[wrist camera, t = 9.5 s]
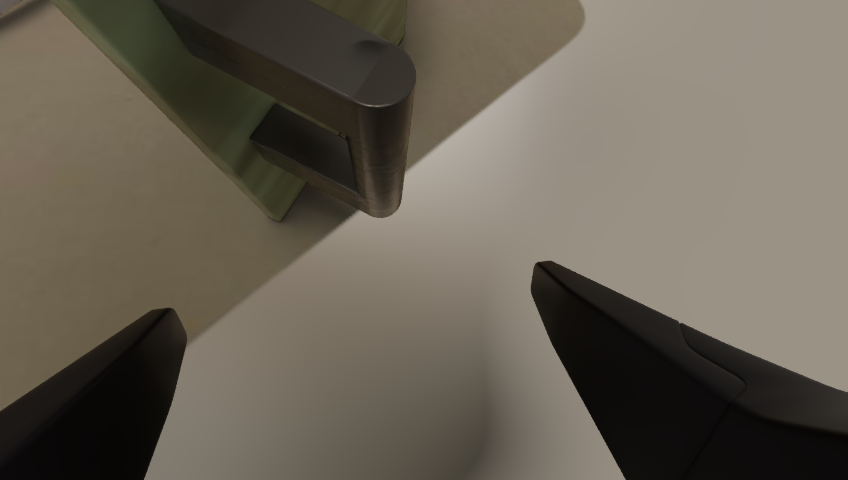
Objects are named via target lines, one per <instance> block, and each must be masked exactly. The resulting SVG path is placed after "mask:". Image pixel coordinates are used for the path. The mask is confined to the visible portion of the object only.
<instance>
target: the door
mask: <svg viewBox="0 0 848 480" xmlns="http://www.w3.org/2000/svg"><path fill="white" fill-rule="evenodd" d="M50 1H51V2H52V3H53V4H54V5H55V6H56V7H57V8H58V9H59V10H60V11H61V12H62V13H63V14H64V15H65V16H66V17H67V18H68V19H69V20H70V21H71V22H72V23H73V24H74V25H75V26H76V27H77V28H78V29H79V30H80V31H81V32H82V33H83V34H84V35H85V36H86V37H87V38H88V39H89V40H90V41H91V42H92V43H93V44H94V45H95V46H96V47H97V48H98V49H99V50H100V51H101V52H102V53H103V54H104V55H105V56H106V57H108V58H109V59H110V60H111V61H112V62H113V63H114V64H115V65H116V66H117V67H118V68H119V69H120V70H121V71H122V72H123V73H124V74H125V75H126V76H127V77H128V78H129V79H130V80H131V81H132V82H133V83H134V84H135V85H136V86H137V87H138V88H139V89H140V90H141V91H142V92H143V93H144V94H145V95H146V96H147V97H148V98H149V99H150V100H151V101H152V102H153V103H154V104H155V105H156V106H157V107H158V108H159V109H160V110H161V111H162V112H163V113H164V114H165V115H166V116H167V117H168V118H169V119H170V120H171V121H172V122H173V123H174V124H175V125H176V126H177V127H178V128H179V129H180V130H181V131H182V132H183V133H184V134H185V135H186V136H187V137H188V138H189V139H190V140H191V141H192V142H193V143H194V144H195V145H196V146H197V147H198V148H199V149H200V150H201V151H202V152H203V153H204V154H205V155H206V156H207V157H208V158H209V159H210V160H211V161H212V162H213V163H214V164H215V165H216V166H217V167H218V168H219V169H220V170H221V171H222V172H224V173H225V174H226V175H227V176H228V177H229V178H230V179H231V180H232V181H233V182H234V183H235V184H236V185H237V186H238V187H239V188H240V189H241V190H242V191H243V192H244V193H245V194H246V195H247V196H248V197H249V198H250V199H251V200H252V201H253V202H254V203H255V204H256V205H257V206H258V207H259V208H260V209H261V210H262V211H263V212H264V213H265V214H266V215H267V216H269V217H271V218H273V219H274V220H276V221H278V222H280V221H281V220H282V218H283V217H284V215H285V214H286V212H287V211H288V209H289V208H290V206H291V205H292V203H293V202H294V200H295V199H296V197H297V196H298V194H299V193H300V191H301V190H302V188H303V187H304V185H305V184H306V182H308V183H310V184H312V185H313V186H315V187H317V188H319V189H321V190H323V191H325V192H327V193H329V194H331V195H332V196H334V197H336V198H338V199H340V200H342V201H344V202H346V203H348V204H349V205H351V206H353V207H355V208H357V209H359V210H361V211H363V212H365V213H367V214H368V215H370V216H373V217H377V218H384V217H388V216H390V215H392V214H393V213H395V212H396V211H397V209H398V207H399V206H400V203H401V199H402V198H401V197H402V190H403V182H404V174H405V166H406V157H407V149H408V141H409V133H410V124H411V116H412V108H413V99H414V91H415V83H416V70H415V67H414V64H413V62H412V60H411V58H410V57H409V55H408V54H407V53H406V52H405V51H404V50H403V49H402V48H401V47H399V46H398V44H399V42H400V41H401V39H402V38H403V36H404V35H405V21H406V5H407V0H50ZM339 132H340V133H342V134H344V135H346V139H347V140H346V139H344V138H342V137H340V136H338V134H339Z"/></svg>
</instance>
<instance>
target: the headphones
mask: <svg viewBox="0 0 848 480" xmlns="http://www.w3.org/2000/svg"><path fill="white" fill-rule="evenodd" d="M20 1H22V0H0V15H1V14H3V13H4V12H6V11H7V10H9V9H10V8H12V7H13V6H15V5H16V4H18V3H19V2H20Z"/></svg>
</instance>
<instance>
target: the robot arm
mask: <svg viewBox="0 0 848 480" xmlns="http://www.w3.org/2000/svg"><path fill="white" fill-rule="evenodd" d="M531 294H532V297H533V299H534V302H535V304H536V306H537V309H538V311H539V314H540V316H541V319H542V321H543V323H544V326H545V329H546V331H547V334H548V336H549V338H550V341H551V343H552V345H553V347H554V349H555V351H556V353H557V354H558V356H559V358H560V360H561V362H562V364H563V365H564V367H565V369H566V371H567V373H568V375H569V376H570V378H571V380H572V382H573V384H574V386H575V387H576V389H577V391H578V393H579V395H580V397H581V398H582V400H583V402H584V404H585V406H586V407H587V409H588V411H589V413H590V415H591V417H592V419H593V420H594V422H595V424H596V426H597V428H598V430H599V431H600V433H601V435H602V437H603V439H604V441H605V442H606V444H607V446H608V448H609V450H610V452H611V453H612V455H613V457H614V459H615V461H616V463H617V465H618V466H619V468H620V470H621V472H622V474H623V476H624V477H625V479H626V480H848V392H844V391H841V390H838V389H835V388H832V387H830V386H827V385H824V384H822V383H820V382H817V381H815V380H812V379H810V378H807V377H805V376H803V375H800V374H798V373H795V372H793V371H790V370H788V369H786V368H783V367H781V366H778V365H776V364H774V363H771V362H769V361H766V360H764V359H762V358H759V357H757V356H754V355H752V354H749V353H747V352H745V351H742V350H740V349H737V348H735V347H733V346H731V345H728V344H726V343H724V342H721V341H719V340H717V339H715V338H712V337H710V336H708V335H706V334H704V333H702V332H700V331H697V330H695V329H693V328H691V327H689V326H687V325H685V324H683V323H680V324H679V322H678V321H677V320H674V319H672V318H670V317H668V316H666V315H664V314H662V313H660V312H658V311H656V310H653V309H651V308H649V307H647V306H645V305H643V304H641V303H639V302H637V301H634V300H632V299H630V298H628V297H626V296H624V295H622V294H620V293H618V292H616V291H613V290H611V289H609V288H607V287H605V286H603V285H601V284H599V283H597V282H595V281H593V280H590V279H588V278H586V277H584V276H582V275H580V274H578V273H576V272H574V271H571V270H569V269H567V268H565V267H563V266H561V265H559V264H556V263H555V262H553V261H543V262H537V263H536V264H535V266H534V270H533V276H532V283H531ZM186 343H187V335H186V332H185V329H184V327H183V325H182V323H181V321H180V319H179V317H178V315H177V313H176V312H175V310H174V309H172V308H163V309H155V310H151V311H150V312H148V313H147V314H145V315H144V316H142V317H141V318H139V319H138V320H136V321H135V322H133V323H132V324H130V325H129V326H127V327H126V328H124V329H123V330H121V331H120V332H118V333H117V334H115V335H114V336H112V337H111V338H109V339H108V340H106V341H105V342H103V343H102V344H100V345H99V346H97V347H96V348H94V349H93V350H91V351H90V352H88V353H87V354H85V355H84V356H82V357H81V358H79V359H78V360H76V361H75V362H73V363H72V364H70V365H69V366H67V367H66V368H64V369H63V370H61V371H60V372H58V373H57V374H55V375H54V376H52V377H51V378H49V379H48V380H46V381H45V382H43V383H42V384H40V385H39V386H37V387H36V388H34V389H33V390H31V391H30V392H28V393H27V394H25V395H24V396H22V397H21V398H19V399H18V400H16V401H15V402H13V403H12V404H10V405H9V406H7V407H6V408H5V409H3V410H2V411H0V480H144V478H145V475H146V472H147V470H148V467H149V464H150V461H151V459H152V456H153V453H154V451H155V448H156V445H157V442H158V440H159V437H160V434H161V432H162V429H163V426H164V423H165V421H166V418H167V415H168V412H169V409H170V407H171V403H172V400H173V397H174V393H175V389H176V385H177V380H178V376H179V372H180V368H181V364H182V360H183V356H184V352H185V348H186Z"/></svg>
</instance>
